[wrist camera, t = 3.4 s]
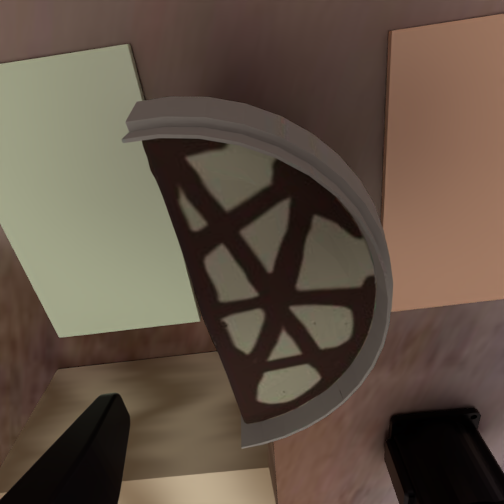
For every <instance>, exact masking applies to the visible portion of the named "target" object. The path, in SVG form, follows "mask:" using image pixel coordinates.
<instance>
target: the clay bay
mask: <svg viewBox="0 0 504 504" xmlns="http://www.w3.org/2000/svg"><path fill="white" fill-rule="evenodd" d="M381 225H382V227H383V230H384V234H385V239H386V243H387V247H388V251H389V256H390V262H391V269H392V277H393V298H392V310H391V312H395V311H403V310H412V309H421V308H429V307H438V306H447V305H455V304H464V303H473V302H482V301H490V300H499V299H504V14H497V15H491V16H484V17H478V18H471V19H465V20H458V21H452V22H445V23H439V24H432V25H426V26H419V27H413V28H406V29H400V30H393V31H389V35H388V60H387V84H386V109H385V133H384V158H383V182H382V207H381Z"/></svg>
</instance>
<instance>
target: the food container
mask: <svg viewBox="0 0 504 504" xmlns="http://www.w3.org/2000/svg"><path fill="white" fill-rule="evenodd" d="M125 123H126V125H127V128H128V130H129V133H128V134H127V135H126V136H124V137H123V138H122V139H121V140H122V142H123V143H128V142H135V141H142V144H143V148H144V151H145V153H146V156H147V159H148V163H149V167H150V171H151V172H152V174H153V176H154V178H155V180H156V182H157V184H158V187H159V189H160V191H161V194H162V196H163V199H164V202H165V205H166V208H167V210H168V213H169V216H170V219H171V222H172V225H173V228H174V230H175V233H176V236H177V239H178V242H179V245H180V248H181V251H182V254H183V257H184V260H185V263H186V266H187V269H188V272H189V275H190V278H191V282H192V285H193V288H194V291H195V294H196V298H197V301H198V304H199V307H200V310H201V313H202V317H203V320H204V322H205V325H206V327H207V329H208V332H209V334H210V336H211V339H212V341H213V343H214V345H215V347H216V350H217V352H218V354H219V357H220V359H221V362H222V364H223V367H224V369H225V372H226V374H227V377H228V380H229V382H230V385H231V388H232V391H233V393H234V396H235V399H236V402H237V404H238V407H239V410H240V412H241V448H242V449H243V448H248V447H253V446H258V445H263V444H266V443H270V442H273V441H276V440H279V439H282V438H285V437H288V436H290V435H292V434H295V433H297V432H299V431H301V430H304V429H306V428H308V427H310V426H311V425H313V424H315V423H316V422H318V421H320V420H321V419H323V418H325V417H326V416H328V415H329V414H330V413H332V412H333V411H334V410H336V409H337V408H338V407H339V406H341V405H342V404H343V403H344V402H346V401H347V400H348V398H349V397H350V396H351V395H352V394H353V393H354V392H355V391H356V390H357V389H358V388H359V387H360V386H361V385H362V383H363V382H364V380H365V379H366V377H367V376H368V375H369V373H370V372H371V370H372V369H373V367H374V366H375V363H376V361H377V359H378V357H379V355H380V353H381V350H382V348H383V346H384V343H385V339H386V335H387V331H388V327H389V323H390V314H391V310H392V298H393V277H392V269H391V262H390V256H389V251H388V247H387V243H386V239H385V234H384V230H383V227H382V225H381V222H380V219H379V216H378V213H377V210H376V208H375V205H374V203H373V201H372V199H371V198H370V196H369V194H368V193H367V191H366V189H365V188H364V186H363V184H362V182H361V181H360V179H359V178H358V177H357V175H356V174H355V173H354V172H353V171H352V170H351V168H350V167H349V166H348V165H347V164H346V163H345V162H344V160H343V159H342V158H341V157H340V156H339V155H338V154H337V153H336V152H335V151H333V150H332V149H331V148H330V147H328V146H327V145H326V144H325V143H324V142H322V141H321V140H320V139H319V138H317V137H316V136H315V135H314V134H312V133H311V132H309V131H307V130H305V129H303V128H302V127H300V126H298V125H296V124H295V123H293V122H291V121H289V120H287V119H286V118H284V117H282V116H280V115H277V114H274V113H271V112H268V111H266V110H263V109H260V108H257V107H254V106H252V105H249V104H246V103H240V102H235V101H229V100H224V99H218V98H212V97H177V96H170V97H163V98H157V99H151V100H144V101H138V102H136V104H135V105H134V107H133V109H132V111H131V113H130V114H129V116H128V118H127V120H126V122H125Z"/></svg>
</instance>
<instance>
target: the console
mask: <svg viewBox="0 0 504 504" xmlns="http://www.w3.org/2000/svg"><path fill="white" fill-rule="evenodd" d="M107 393H119V394H120V395H121V397H122V399H123V402H124V404H125V406H126V408H127V410H128V413H129V415H130V431H129V438H128V445H127V452H126V458H125V465H124V472H123V478H122V485H121V491H120V496H119V501H118V504H278V499H277V485H276V471H275V457H274V443H273V442H270V443H266V444H263V445H258V446H253V447H248V448H243V449H242V448H241V412H240V410H239V407H238V404H237V402H236V399H235V396H234V393H233V391H232V388H231V385H230V382H229V380H228V377H227V374H226V372H225V369H224V367H223V364H222V362H221V359H220V357H219V354H218V352H217V351H216V352H207V353H198V354H189V355H180V356H171V357H162V358H154V359H145V360H136V361H127V362H118V363H109V364H100V365H91V366H82V367H73V368H65V369H58V370H57V371H56V373H55V375H54V377H53V378H52V380H51V382H50V383H49V385H48V387H47V389H46V390H45V392H44V394H43V395H42V397H41V399H40V401H39V402H38V404H37V406H36V407H35V409H34V411H33V413H32V414H31V416H30V418H29V419H28V421H27V423H26V425H25V426H24V428H23V430H22V431H21V433H20V435H19V437H18V438H17V440H16V442H15V443H14V445H13V447H12V449H11V450H10V452H9V454H8V455H7V457H6V459H5V461H4V462H3V464H2V466H1V467H0V499H1V498H2V497H3V496H4V495H5V494H6V493H7V492H8V491H9V490H10V489H11V487H12V486H13V485H14V484H15V483H16V482H17V481H18V480H19V479H20V478H21V477H22V476H23V475H24V474H25V473H26V472H27V471H28V470H29V469H30V468H31V466H32V465H33V464H34V463H35V462H36V461H37V460H38V459H39V458H40V457H41V456H42V455H43V454H44V453H45V452H46V451H47V450H48V449H49V448H50V447H51V445H52V444H53V443H54V442H55V441H56V440H57V439H58V438H59V437H60V436H61V435H62V434H63V433H64V432H65V431H66V430H67V429H68V428H69V427H70V425H71V424H72V423H73V422H74V421H75V420H76V419H77V418H78V417H79V416H80V415H81V414H82V413H83V412H84V411H85V410H86V409H87V408H88V407H89V406H90V404H91V403H92V402H93V401H94V400H95V399H96V398H97V397H98V396H100V395H102V394H107Z"/></svg>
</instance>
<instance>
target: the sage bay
mask: <svg viewBox="0 0 504 504" xmlns="http://www.w3.org/2000/svg"><path fill="white" fill-rule="evenodd" d="M138 101H144V96H143V92H142V88H141V84H140V80H139V77H138V73H137V69H136V65H135V61H134V57H133V53H132V50H131V46H130V44H124V45H118V46H111V47H105V48H99V49H92V50H86V51H80V52H73V53H67V54H61V55H54V56H48V57H42V58H35V59H29V60H23V61H16V62H10V63H3V64H0V224H1V226H2V228H3V230H4V232H5V234H6V236H7V238H8V240H9V241H10V243H11V245H12V247H13V249H14V251H15V253H16V255H17V257H18V259H19V261H20V263H21V265H22V267H23V269H24V270H25V272H26V274H27V276H28V278H29V280H30V282H31V284H32V286H33V288H34V290H35V292H36V294H37V296H38V298H39V299H40V301H41V303H42V305H43V307H44V309H45V311H46V313H47V315H48V317H49V319H50V321H51V323H52V325H53V327H54V329H55V330H56V332H57V334H58V336H59V338H61V337H70V336H78V335H87V334H95V333H104V332H112V331H121V330H130V329H138V328H147V327H155V326H164V325H172V324H181V323H189V322H198V321H200V318H201V316H200V312H199V309H198V305H197V301H196V297H195V293H194V289H193V285H192V282H191V278H190V275H189V272H188V269H187V266H186V263H185V260H184V257H183V254H182V251H181V248H180V245H179V242H178V239H177V236H176V233H175V230H174V228H173V225H172V222H171V219H170V216H169V213H168V210H167V208H166V205H165V202H164V199H163V196H162V194H161V191H160V189H159V187H158V184H157V182H156V180H155V178H154V176H153V174H152V172H151V171H150V167H149V163H148V159H147V156H146V153H145V151H144V148H143V144H142V141H135V142H128V143H123V142H122V140H121V139H122V138H123V137H124V136H126V135H127V134H128V133H129V130H128V128H127V125H126V123H125V122H126V120H127V118H128V116H129V114H130V113H131V111H132V109H133V107H134V105H135V104H136V102H138Z"/></svg>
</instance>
